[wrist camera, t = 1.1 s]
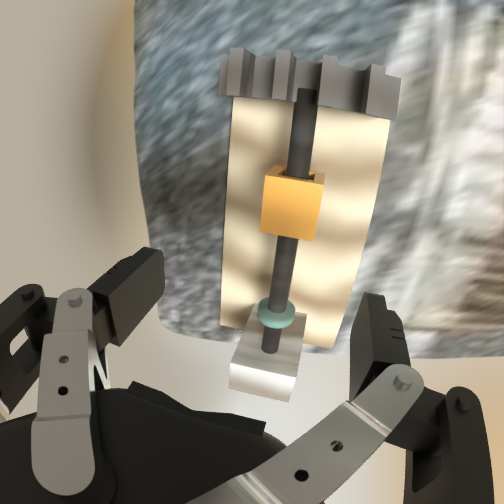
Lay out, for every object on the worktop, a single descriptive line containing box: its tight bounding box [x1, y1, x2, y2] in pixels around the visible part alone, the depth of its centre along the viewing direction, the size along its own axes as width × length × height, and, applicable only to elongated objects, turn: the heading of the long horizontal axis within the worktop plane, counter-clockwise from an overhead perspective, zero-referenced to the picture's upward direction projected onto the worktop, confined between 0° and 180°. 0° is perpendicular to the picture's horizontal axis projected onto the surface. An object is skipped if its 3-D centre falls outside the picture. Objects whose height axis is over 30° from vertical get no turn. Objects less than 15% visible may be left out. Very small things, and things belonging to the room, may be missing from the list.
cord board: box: [218, 48, 401, 402], centre depth 26 cm, size 30×14×12 cm, turn 175°
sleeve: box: [259, 165, 325, 242], centre depth 22 cm, size 4×4×4 cm
